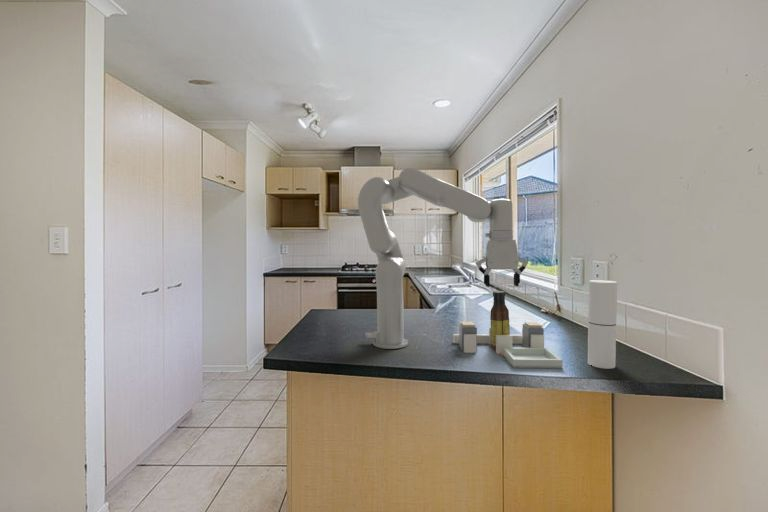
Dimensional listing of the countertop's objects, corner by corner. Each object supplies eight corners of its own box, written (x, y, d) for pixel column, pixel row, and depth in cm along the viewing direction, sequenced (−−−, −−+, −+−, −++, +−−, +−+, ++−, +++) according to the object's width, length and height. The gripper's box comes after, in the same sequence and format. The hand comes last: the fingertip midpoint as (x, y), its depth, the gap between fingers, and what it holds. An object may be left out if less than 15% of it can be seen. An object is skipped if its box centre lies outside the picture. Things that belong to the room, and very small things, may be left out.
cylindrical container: (584, 364, 109) (585, 281, 108) (591, 358, 114) (593, 279, 113) (611, 370, 104) (613, 283, 103) (618, 364, 109) (619, 281, 108)
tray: (513, 367, 106) (513, 359, 106) (502, 355, 118) (502, 347, 118) (562, 368, 106) (562, 360, 106) (546, 355, 118) (546, 347, 118)
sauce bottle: (507, 346, 128) (508, 290, 127) (512, 351, 122) (512, 292, 121) (488, 345, 129) (488, 290, 128) (492, 351, 123) (492, 292, 122)
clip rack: (459, 355, 119) (459, 328, 118) (453, 342, 134) (453, 318, 134) (553, 356, 117) (554, 329, 116) (536, 342, 132) (536, 318, 132)
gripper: (477, 236, 120) (478, 288, 121) (530, 235, 119) (531, 286, 120) (473, 236, 128) (474, 285, 129) (523, 235, 127) (524, 284, 128)
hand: (501, 286), depth 124 cm, fingers open, 9 cm apart
